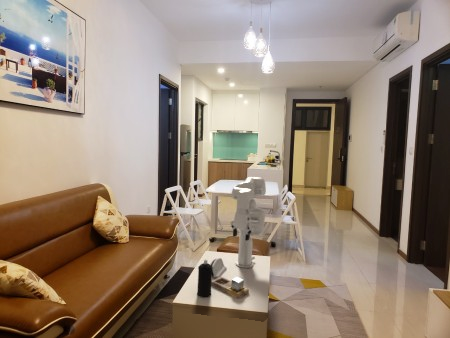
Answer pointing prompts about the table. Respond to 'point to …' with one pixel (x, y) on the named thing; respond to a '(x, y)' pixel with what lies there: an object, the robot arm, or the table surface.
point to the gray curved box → (217, 268)
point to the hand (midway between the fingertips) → (241, 238)
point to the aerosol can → (204, 280)
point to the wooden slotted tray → (228, 287)
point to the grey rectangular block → (237, 284)
